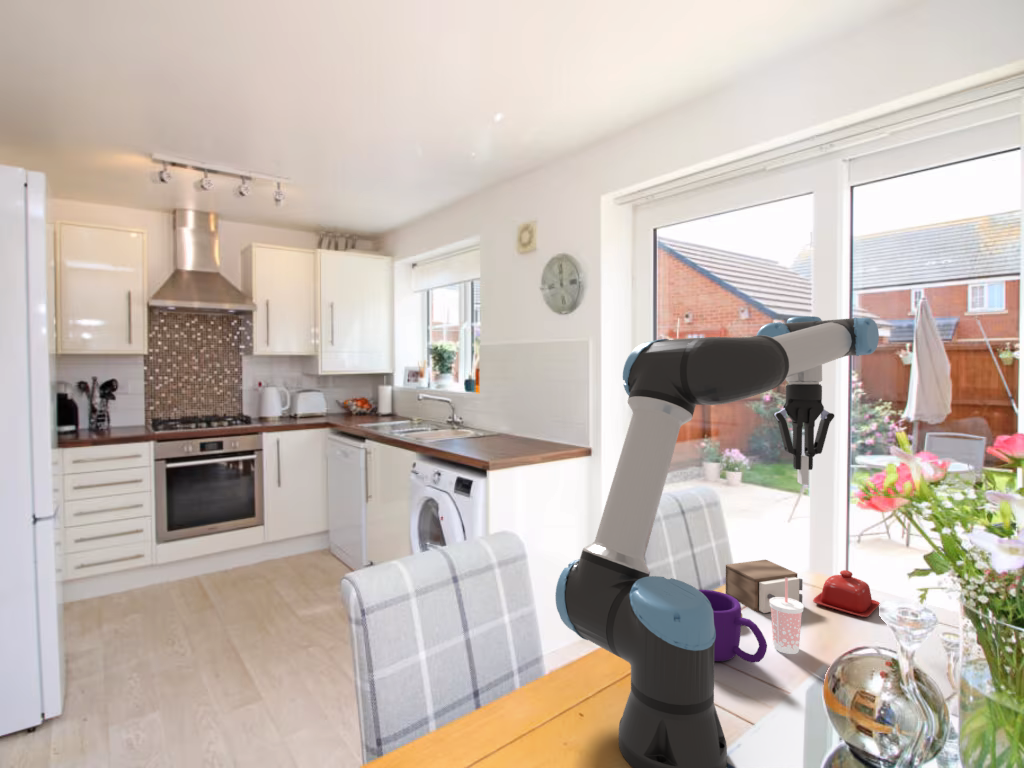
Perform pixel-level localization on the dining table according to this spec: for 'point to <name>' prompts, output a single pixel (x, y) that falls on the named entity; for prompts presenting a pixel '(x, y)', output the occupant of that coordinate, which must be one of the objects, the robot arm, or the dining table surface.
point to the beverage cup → (786, 622)
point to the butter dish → (847, 595)
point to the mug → (732, 628)
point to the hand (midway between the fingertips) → (802, 483)
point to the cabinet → (752, 580)
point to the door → (778, 591)
